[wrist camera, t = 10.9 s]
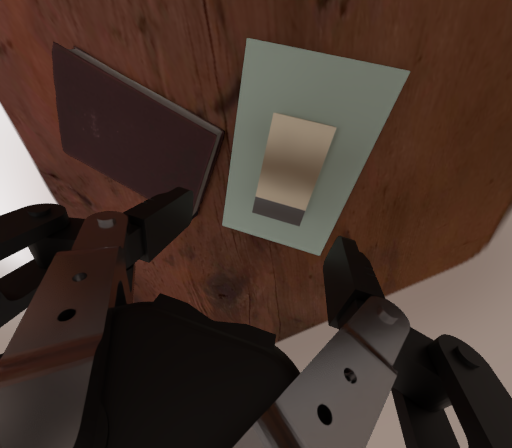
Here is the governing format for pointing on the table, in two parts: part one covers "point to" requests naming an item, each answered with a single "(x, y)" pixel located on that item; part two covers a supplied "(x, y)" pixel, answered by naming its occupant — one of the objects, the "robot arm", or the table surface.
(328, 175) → the rubber mat
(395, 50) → the table surface
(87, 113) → the book
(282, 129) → the cream rectangular block
